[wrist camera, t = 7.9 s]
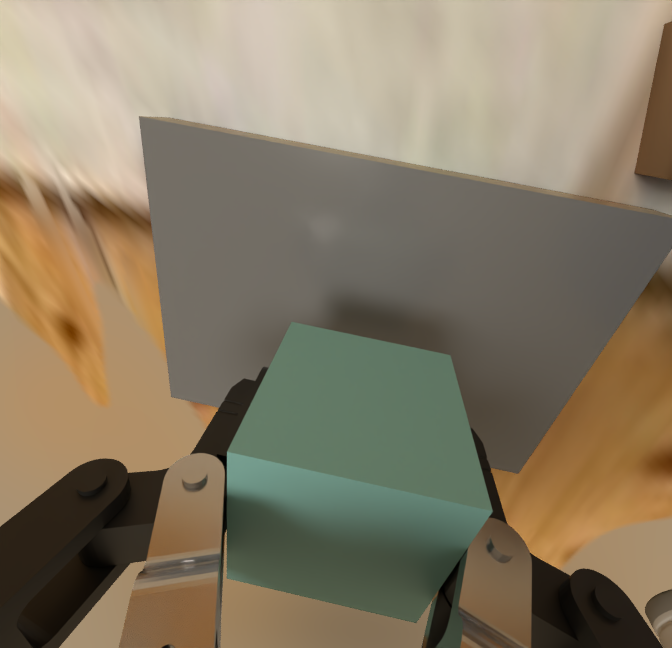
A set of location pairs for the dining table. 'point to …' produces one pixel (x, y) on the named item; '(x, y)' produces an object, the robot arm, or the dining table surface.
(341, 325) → the slate board
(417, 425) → the teal cube
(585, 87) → the dining table surface
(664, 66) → the walnut block
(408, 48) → the dining table surface
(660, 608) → the travel mug
